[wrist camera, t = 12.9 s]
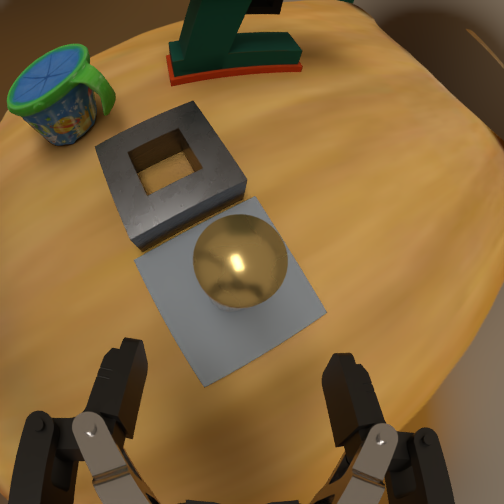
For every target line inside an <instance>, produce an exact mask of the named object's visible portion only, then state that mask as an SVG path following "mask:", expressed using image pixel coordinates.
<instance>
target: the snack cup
mask: <svg viewBox="0 0 504 504" xmlns="http://www.w3.org/2000/svg"><path fill="white" fill-rule="evenodd" d="M94 92H96V93H97V94H98V95H99V96H100V97H101V102H102V107H103V112H104V116H106V115H108V114H109V113H110V111H111V109H112V107H113V105H114V103H115V98H116V96H115V92H114V90H113V89H112V87H111V86H110V84H109V83H108V82H107V80H106V79H105V77H104V76H103V75H102V74H101V73H100V72H99V71H98V70H97V69H96V68H95V67H94V66H92V65H90V55H89V52H88V49H87V47H86V46H83V45H81V44H69V45H64V46H62V47H59V48H56V49H54V50H52V51H50V52H48V53H46V54H44V55H43V56H41V57H40V58H38V59H37V60H35V61H34V62H33V63H32V64H31V65H30V66H28V67H27V68H26V69H25V70H24V71H23V72H22V73H21V74H20V75H19V77H18V78H17V79H16V81H15V82H14V83H13V85H12V87H11V89H10V91H9V93H8V96H7V104H8V110H9V111H10V112H11V113H13V114H15V115H17V116H21V117H22V118H23V119H24V120H25V121H26V122H28V124H29V125H31V126H32V127H33V128H34V129H35V130H36V131H37V132H39V133H40V134H41V135H42V136H43V137H45V139H46V140H48V141H49V142H50V143H52V144H54V145H57V146H60V145H65V144H73V143H75V141H76V140H77V139H78V138H80V137H81V136H83V135H84V134H85V133H86V132H87V131H88V130H89V129H90V128H91V127H92V126H93V125H94V123H95V118H96V114H97V107H96V101H95V96H94Z"/></svg>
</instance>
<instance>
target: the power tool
mask: <svg viewBox="0 0 504 504" xmlns="http://www.w3.org/2000/svg"><path fill="white" fill-rule="evenodd" d="M339 1H344V2H349V3H353V1H354V0H339ZM282 3H283V0H190V4H189V6H188V10H187V13H186V17H185V20H184V24H183V27H182V31H181V35H180V38H179V41H174V42H169V51H170V55H166V59H167V65H168V71H169V77H170V82H171V86H175V85H180V84H185V83H190V82H196V81H202V80H208V79H214V78H221V77H229V76H238V75H248V74H260V73H276V72H301V70H302V67H303V66H302V65H301V63H300V62H299V60H300V57H301V54H302V50H301V48H300V47H299V46H298V44H297V43H296V42H295V41H294V39H293V38H292V37H291V35H290V34H289V33H288V32H254V33H237V32H238V29H239V27H240V25H241V23H242V20H243V18H244V16H245V14H280V11H281V7H282Z"/></svg>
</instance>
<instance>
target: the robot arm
mask: <svg viewBox="0 0 504 504" xmlns="http://www.w3.org/2000/svg"><path fill="white" fill-rule="evenodd" d="M147 370H148V362H147V358H146V353H145V349H144V344H143V341H142V340H138V339H132V338H126V337H125V338H124V339H123V341H122V344H121V346H120V349H116V348H112V349H111V350H110V351H109V352H108V353H107V354H106V355H105V356H104V358H103V361H102V363H101V366H100V369H99V371H98V374H97V377H96V380H95V382H94V385H93V388H92V391H91V394H90V397H89V400H88V403H87V406H86V408H85V410H84V411H83V412H82V413H80V414H79V415H77V416H76V417H73V418H51V417H50V416H49V415H48V414H47V413H45V412H43V411H34V412H32V413H31V414H30V415H29V416H28V417H27V419H26V422H25V425H24V428H23V432H22V436H21V439H20V443H19V447H18V451H17V455H16V460H15V465H14V470H13V475H12V481H11V487H10V494H9V502H8V504H73V502H74V492H75V484H76V477H77V470H78V463H79V461H85V462H86V464H87V466H88V468H89V470H90V472H91V474H92V477H93V481H92V482H93V486H94V488H95V490H96V492H97V494H98V496H99V498H100V499H101V501H102V503H103V504H161V503H160V502H159V501H158V499H157V498H156V496H155V495H154V494H153V492H152V491H151V489H150V488H149V487H148V486H147V484H146V483H145V482H144V480H143V479H142V477H141V476H140V474H139V472H138V471H137V469H136V468H135V466H134V464H133V463H132V461H131V459H130V457H129V456H128V454H127V452H126V450H125V449H124V447H123V446H124V441H125V438H129V439H133V435H134V430H135V425H136V420H137V415H138V411H139V406H140V402H141V397H142V393H143V389H144V384H145V380H146V376H147ZM371 383H372V382H371V379H370V377H369V374H368V372H367V371H366V370H365V368H364V367H363V366H362V365H361V364H356V363H355V360H354V357H353V355H352V354H351V353H334V354H333V355H332V357H331V359H330V361H329V363H328V365H327V367H326V368H325V370H324V372H323V375H322V387H323V391H324V396H325V400H326V405H327V409H328V414H329V418H330V423H331V427H332V432H333V437H334V442H335V447H342V446H344V448H345V452H344V453H343V455H342V457H341V458H340V460H339V462H338V464H337V465H336V467H335V469H334V471H333V472H332V474H331V476H330V477H329V479H328V481H327V482H326V484H325V485H324V486H323V487H322V488H321V489H320V490H319V492H318V493H317V494H316V495H315V496H314V498H313V499H312V501H311V502H310V504H378V502H379V501H380V499H381V496H382V494H383V492H384V489H385V484H383V478H384V476H385V482H386V488H387V494H388V500H389V504H455V502H454V497H453V492H452V487H451V483H450V479H449V475H448V471H447V467H446V463H445V459H444V456H443V452H442V449H441V446H440V442H439V439H438V436H437V434H436V433H435V432H434V431H433V430H432V429H430V428H421V429H419V430H418V431H417V432H415V433H408V432H399V431H396V430H395V429H394V428H393V427H392V426H391V425H389V424H386V422H385V420H384V417H383V414H382V411H381V408H380V405H379V402H378V399H377V396H376V394H375V392H374V388H373V385H372V384H371ZM179 504H219V503H215V502H204V501H193V500H186V503H179ZM268 504H299V501H298V500H294V501H284V502H271V503H268Z"/></svg>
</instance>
